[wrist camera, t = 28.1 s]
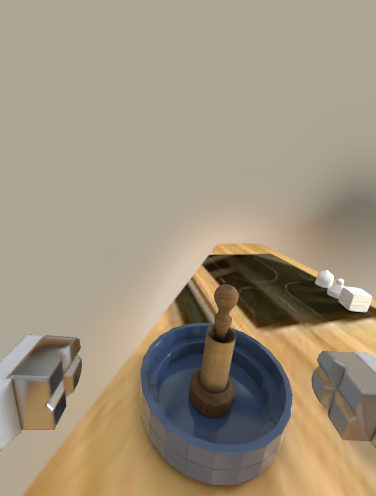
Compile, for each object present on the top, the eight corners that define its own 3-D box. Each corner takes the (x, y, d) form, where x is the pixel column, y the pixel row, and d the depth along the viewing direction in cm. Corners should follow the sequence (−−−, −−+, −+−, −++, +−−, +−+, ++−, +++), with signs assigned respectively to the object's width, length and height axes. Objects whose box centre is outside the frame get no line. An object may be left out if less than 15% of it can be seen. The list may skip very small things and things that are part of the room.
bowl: (123, 489, 23) (123, 450, 21) (150, 346, 43) (151, 319, 41) (314, 493, 24) (329, 456, 22) (255, 351, 44) (260, 326, 42)
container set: (366, 313, 61) (373, 296, 60) (347, 312, 61) (353, 294, 60) (326, 282, 80) (330, 268, 79) (312, 280, 80) (315, 266, 79)
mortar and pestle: (240, 415, 30) (264, 300, 25) (194, 421, 29) (210, 301, 24) (224, 374, 37) (241, 275, 31) (185, 378, 35) (196, 275, 30)
